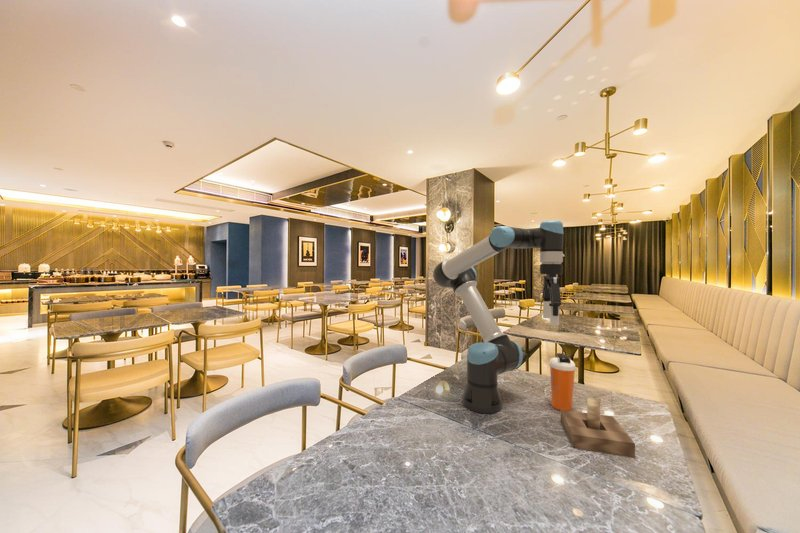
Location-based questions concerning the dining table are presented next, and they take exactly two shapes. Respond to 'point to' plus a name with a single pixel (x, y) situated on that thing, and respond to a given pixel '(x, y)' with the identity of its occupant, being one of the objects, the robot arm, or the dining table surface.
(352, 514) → the dining table surface
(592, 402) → the peg
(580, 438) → the socket block
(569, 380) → the shaker bottle
